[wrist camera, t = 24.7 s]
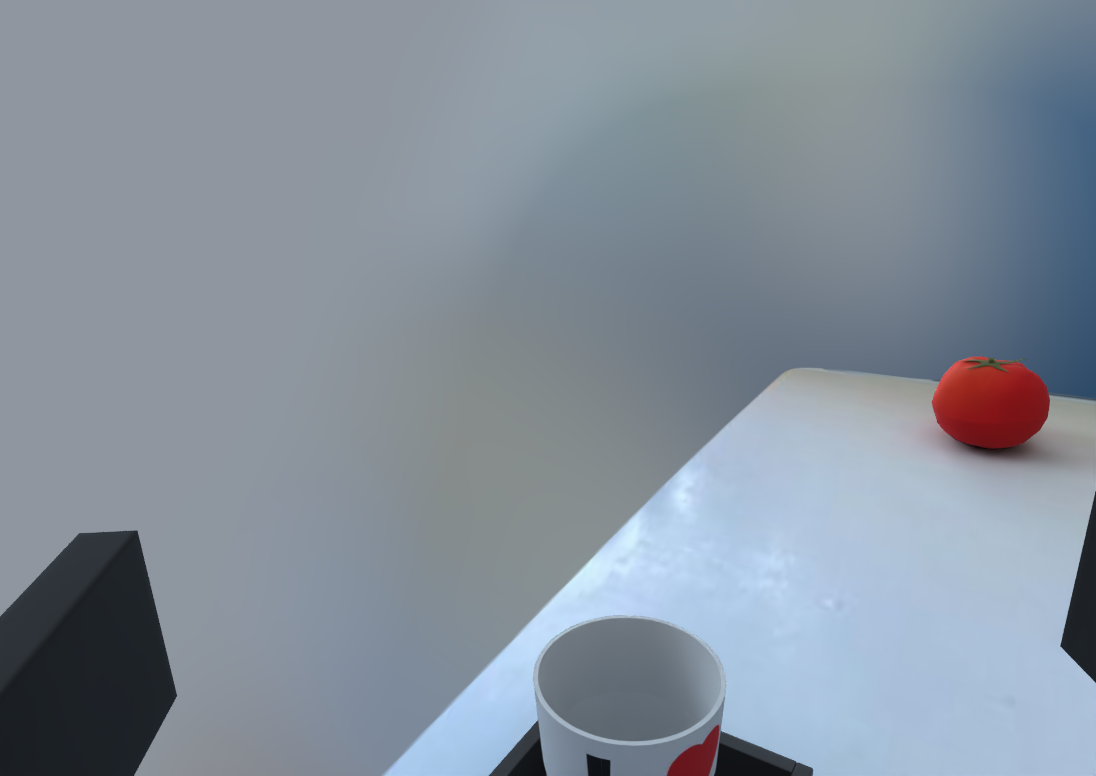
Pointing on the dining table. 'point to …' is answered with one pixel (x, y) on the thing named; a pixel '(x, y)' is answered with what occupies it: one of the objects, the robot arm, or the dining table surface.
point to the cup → (629, 700)
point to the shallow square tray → (739, 770)
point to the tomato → (991, 402)
